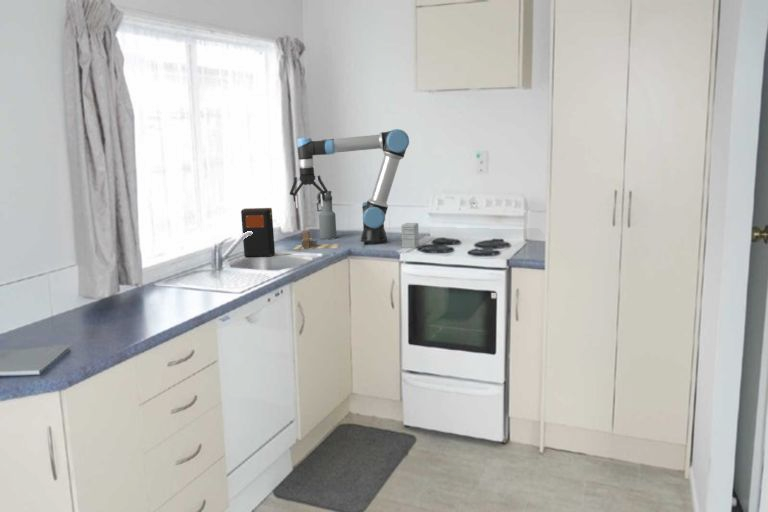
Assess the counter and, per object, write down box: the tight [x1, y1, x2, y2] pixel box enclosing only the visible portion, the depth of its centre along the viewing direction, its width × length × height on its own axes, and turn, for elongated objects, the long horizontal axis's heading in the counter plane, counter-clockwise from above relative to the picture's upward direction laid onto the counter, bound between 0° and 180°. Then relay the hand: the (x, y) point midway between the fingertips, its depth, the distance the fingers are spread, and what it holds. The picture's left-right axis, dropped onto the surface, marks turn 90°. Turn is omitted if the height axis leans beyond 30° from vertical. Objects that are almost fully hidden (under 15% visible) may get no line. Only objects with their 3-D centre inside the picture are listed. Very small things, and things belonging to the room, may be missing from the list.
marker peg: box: [302, 230, 311, 250], centre depth 371 cm, size 3×3×9 cm
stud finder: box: [301, 237, 319, 247], centre depth 378 cm, size 8×4×4 cm, turn 86°
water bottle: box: [316, 190, 337, 240], centre depth 406 cm, size 10×10×28 cm
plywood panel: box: [293, 243, 341, 250], centre depth 375 cm, size 24×12×1 cm, turn 86°
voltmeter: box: [240, 207, 276, 258], centre depth 359 cm, size 16×9×25 cm, turn 84°
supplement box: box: [401, 222, 420, 249], centre depth 369 cm, size 7×7×13 cm
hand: (309, 206), depth 370 cm, fingers open, 13 cm apart
